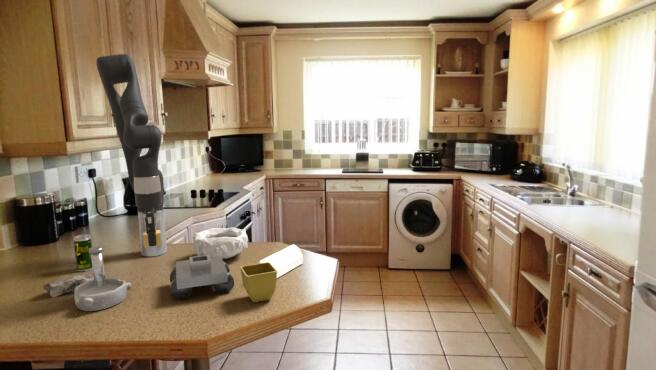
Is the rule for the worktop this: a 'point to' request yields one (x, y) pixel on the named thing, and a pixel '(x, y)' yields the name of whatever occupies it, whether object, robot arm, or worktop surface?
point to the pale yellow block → (158, 239)
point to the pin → (98, 266)
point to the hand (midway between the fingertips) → (152, 243)
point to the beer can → (83, 252)
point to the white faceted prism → (285, 259)
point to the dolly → (200, 276)
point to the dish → (100, 294)
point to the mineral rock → (66, 285)
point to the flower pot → (259, 281)
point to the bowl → (220, 242)
